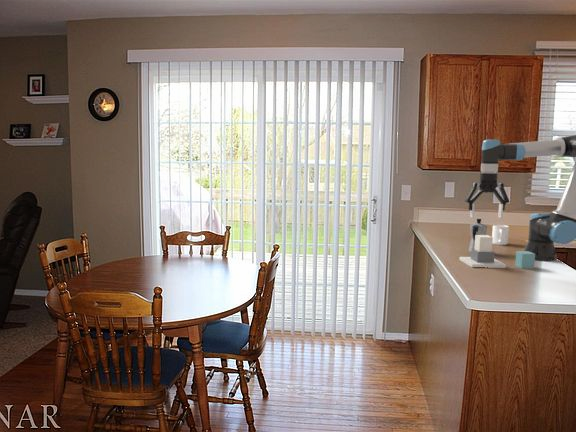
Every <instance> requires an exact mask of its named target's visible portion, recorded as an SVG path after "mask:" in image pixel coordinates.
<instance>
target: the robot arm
mask: <svg viewBox="0 0 576 432" xmlns="http://www.w3.org/2000/svg"><path fill="white" fill-rule="evenodd" d="M548 156H549V157H550V156H551V157H552V156H555V157H558V158H563V157H565V158H572V160H573V162H574V164H573V166H572V169H571V171H570V174H569V177H568V179H567V182H566V184H565V187H564V189H563V191H562V194H561V196H560V199H559V202H558V204H557V208H556V209H555V210H552V211H551V213H531V215H530V218H529V227H528V230H529V231H528V239H527V240H528V241H527V243H526V246H525V248H524V250H523V251H529V252H532V253H534V254H535V261H549V260H552V261H556V260H557V252H556V248H555V244H561V245H568V244H570V243H572V242H573V241H575V239H576V134H573V135H570V136H569V135H568V136H562V137H561V136H560V137H557V138H556V139H551V140H550V139H549V140H537V141H525V142H512V143H511V142H510V143H501V140H499V139H484V140H483V141H482V145H481V162H480V163H481V164H480V172H481V173H480V176H479V183H477V182H472V187H471V189H470V191H469V193H468V194H467V196H466V197H465V200H464V202H466V203H467V204H468V210H469V217H470V218H472V219H473V218H474V216H475V201H476V200H477V199H478V198H479V197H480V196H481V195H482V194H483V193H487V194H488V193H491V194H493V195H494V196H495V198H496V199H497V201H499V203H498V215H497V216H498V218H501V219H502V218H503V214H504V213H503V211H505V210H506V209H505V208H506V204H509V203H510V199H509V197H508V194H507V191H506V190H505V187H504V186H505V184H504V183H503V182H500V183H498V172H499V161H522V160H523V159H524V158H535V157H548ZM477 188H478V190H477ZM497 188H499V191H500V193H499V192H498V190H497ZM476 191H477V192H476ZM475 192H476V193H475ZM474 193H475V194H474Z"/></svg>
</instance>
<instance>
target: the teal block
mask: <svg viewBox="0 0 576 432" xmlns="http://www.w3.org/2000/svg"><path fill="white" fill-rule="evenodd" d="M514 262H515V264H514V265H515V266H516V267H518V268H519V269H529V270H530V269H531V270H532V269H533V270H535V262H536V260H535V254H534V253H532V252H529V251H524V250H522V251H521V250H517V251H515V261H514Z"/></svg>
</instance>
